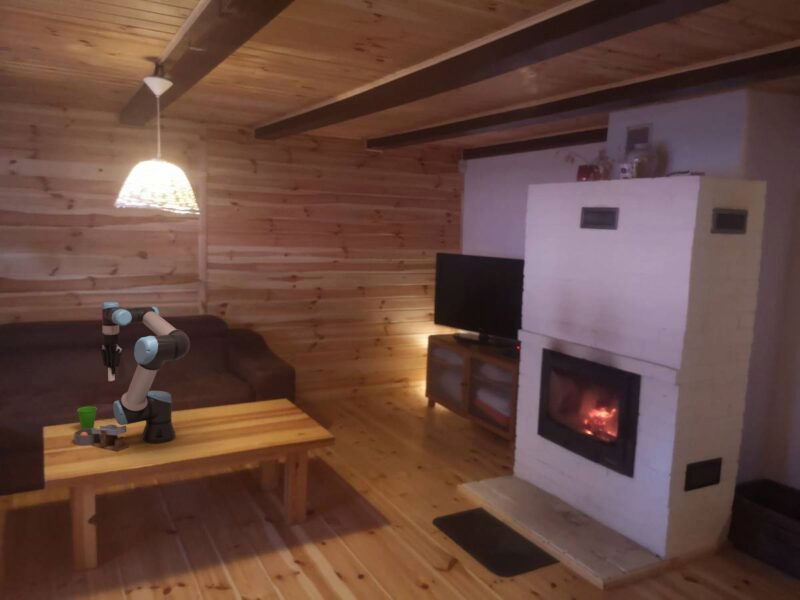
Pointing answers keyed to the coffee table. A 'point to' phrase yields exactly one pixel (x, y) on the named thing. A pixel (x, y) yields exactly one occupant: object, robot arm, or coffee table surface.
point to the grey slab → (110, 430)
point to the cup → (87, 417)
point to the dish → (86, 437)
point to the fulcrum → (111, 442)
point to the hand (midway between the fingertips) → (111, 380)
